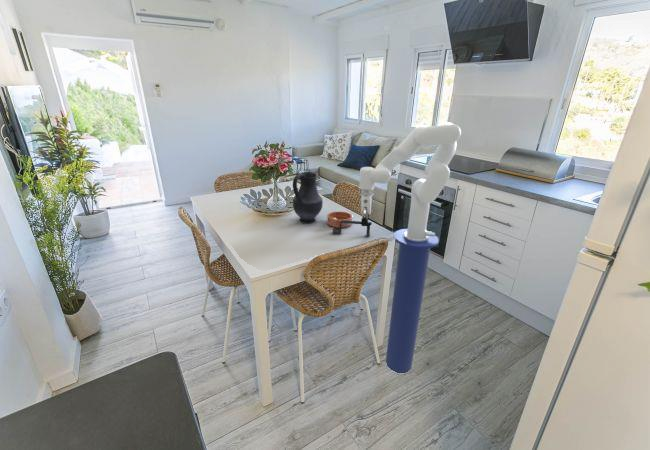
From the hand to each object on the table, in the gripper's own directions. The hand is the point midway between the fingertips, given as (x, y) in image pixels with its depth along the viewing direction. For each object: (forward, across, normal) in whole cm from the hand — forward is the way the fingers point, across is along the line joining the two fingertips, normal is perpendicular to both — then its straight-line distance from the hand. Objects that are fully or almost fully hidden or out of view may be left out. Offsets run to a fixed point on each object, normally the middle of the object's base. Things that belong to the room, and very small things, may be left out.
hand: (365, 222), depth 167 cm
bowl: (+7, +14, +16) cm, 22 cm away
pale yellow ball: (+5, +14, +19) cm, 24 cm away
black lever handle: (+7, 0, +7) cm, 10 cm away
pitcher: (+7, +13, +36) cm, 38 cm away
